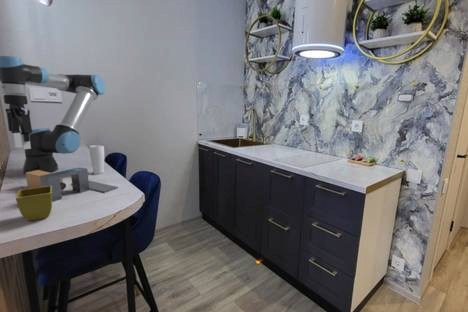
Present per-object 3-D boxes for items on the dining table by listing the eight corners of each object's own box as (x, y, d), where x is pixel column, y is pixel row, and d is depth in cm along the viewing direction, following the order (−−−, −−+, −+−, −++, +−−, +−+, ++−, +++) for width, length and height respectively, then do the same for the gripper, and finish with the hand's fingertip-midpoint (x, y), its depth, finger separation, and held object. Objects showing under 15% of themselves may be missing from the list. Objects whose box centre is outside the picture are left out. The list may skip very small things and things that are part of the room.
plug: (27, 187, 107) (25, 172, 106) (40, 184, 112) (38, 170, 111) (57, 196, 99) (55, 179, 98) (69, 192, 104) (67, 176, 102)
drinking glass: (108, 172, 134) (106, 146, 131) (96, 175, 128) (94, 147, 125) (101, 170, 137) (99, 144, 134) (89, 173, 131) (86, 146, 128)
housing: (43, 199, 94) (40, 175, 92) (81, 188, 108) (79, 167, 106) (51, 202, 92) (47, 177, 90) (89, 190, 106) (87, 168, 104)
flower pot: (19, 225, 74) (15, 198, 73) (22, 215, 81) (18, 189, 80) (54, 218, 79) (51, 192, 78) (54, 209, 86) (51, 185, 85)
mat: (71, 184, 112) (71, 183, 112) (85, 180, 119) (85, 179, 118) (104, 192, 104) (104, 191, 104) (118, 188, 110) (118, 186, 110)
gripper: (-8, 94, 104) (1, 147, 109) (16, 94, 97) (24, 151, 101) (13, 95, 111) (21, 145, 115) (38, 95, 103) (44, 149, 108)
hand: (22, 148), depth 108 cm, fingers open, 6 cm apart
